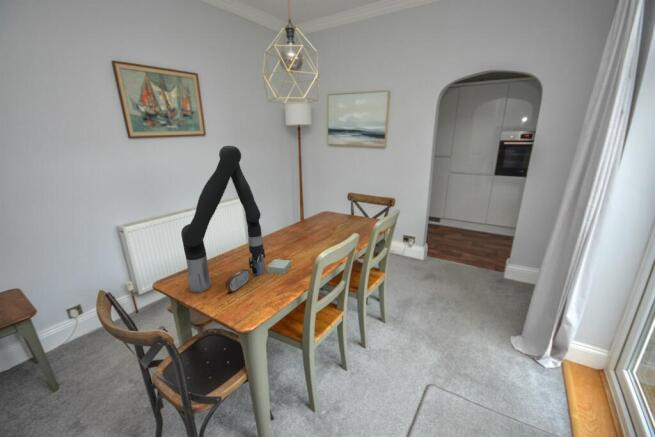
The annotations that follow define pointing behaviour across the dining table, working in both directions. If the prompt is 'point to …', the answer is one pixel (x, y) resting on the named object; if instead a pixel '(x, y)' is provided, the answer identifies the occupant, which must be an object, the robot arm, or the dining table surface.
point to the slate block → (259, 267)
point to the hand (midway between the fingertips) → (258, 270)
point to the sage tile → (279, 266)
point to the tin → (237, 280)
